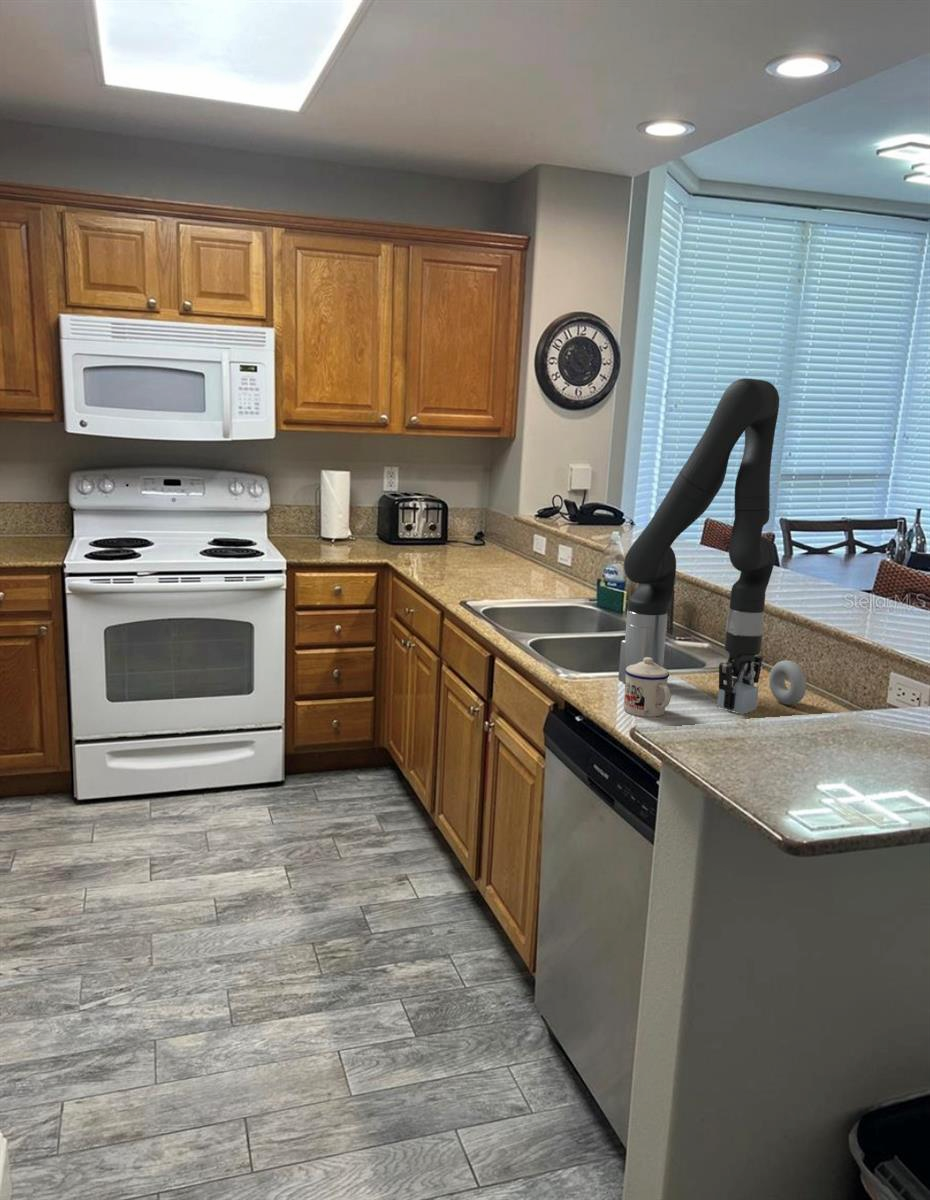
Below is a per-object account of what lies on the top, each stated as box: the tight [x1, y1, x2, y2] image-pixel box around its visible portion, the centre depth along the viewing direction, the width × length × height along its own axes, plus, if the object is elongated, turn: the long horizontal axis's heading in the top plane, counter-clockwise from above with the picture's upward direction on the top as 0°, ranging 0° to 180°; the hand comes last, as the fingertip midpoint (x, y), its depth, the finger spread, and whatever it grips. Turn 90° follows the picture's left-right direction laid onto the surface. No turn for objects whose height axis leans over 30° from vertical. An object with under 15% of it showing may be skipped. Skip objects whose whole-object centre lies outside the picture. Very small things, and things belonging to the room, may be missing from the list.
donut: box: [768, 659, 808, 706], centre depth 203 cm, size 10×4×10 cm, turn 24°
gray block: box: [716, 682, 759, 715], centre depth 199 cm, size 6×6×5 cm
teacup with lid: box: [623, 657, 672, 718], centre depth 193 cm, size 12×9×12 cm
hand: (736, 705), depth 200 cm, fingers closed on gray block, 6 cm apart
